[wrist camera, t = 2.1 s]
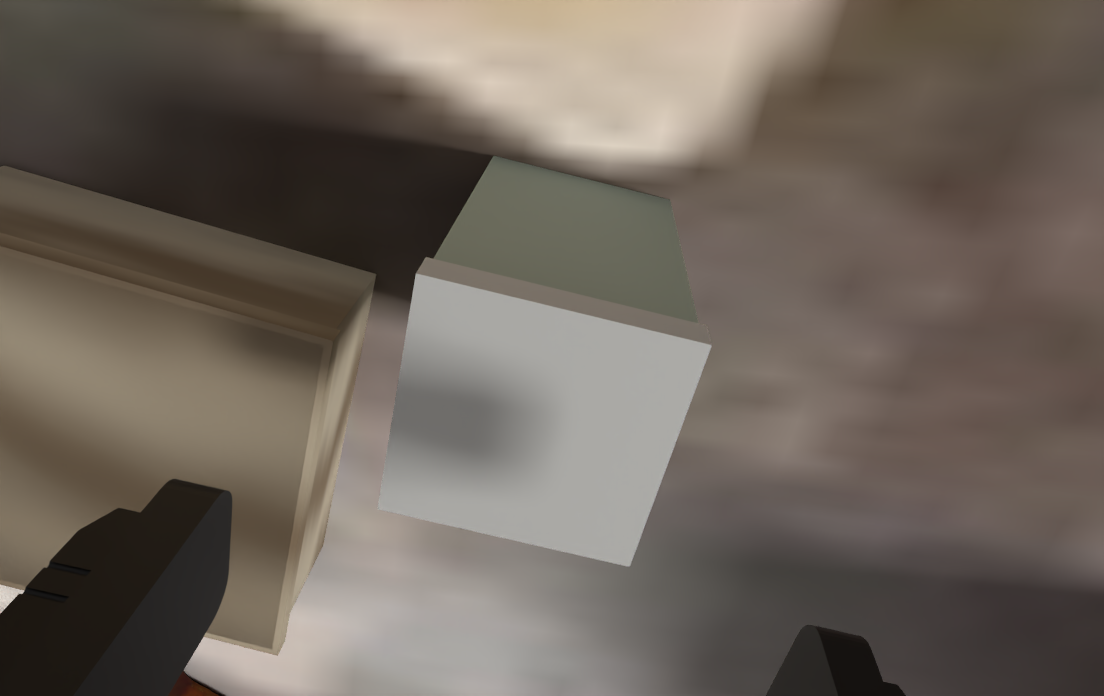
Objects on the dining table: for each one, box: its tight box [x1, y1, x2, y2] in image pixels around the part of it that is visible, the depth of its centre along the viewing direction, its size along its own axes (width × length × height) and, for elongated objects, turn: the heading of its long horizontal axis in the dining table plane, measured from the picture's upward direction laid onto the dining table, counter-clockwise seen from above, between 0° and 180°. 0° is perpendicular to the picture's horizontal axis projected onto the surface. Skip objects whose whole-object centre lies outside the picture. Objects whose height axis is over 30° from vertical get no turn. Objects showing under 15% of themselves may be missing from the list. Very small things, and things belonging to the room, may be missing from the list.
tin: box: [378, 156, 712, 567], centre depth 19 cm, size 5×5×9 cm
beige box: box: [0, 166, 376, 656], centre depth 23 cm, size 11×11×5 cm
